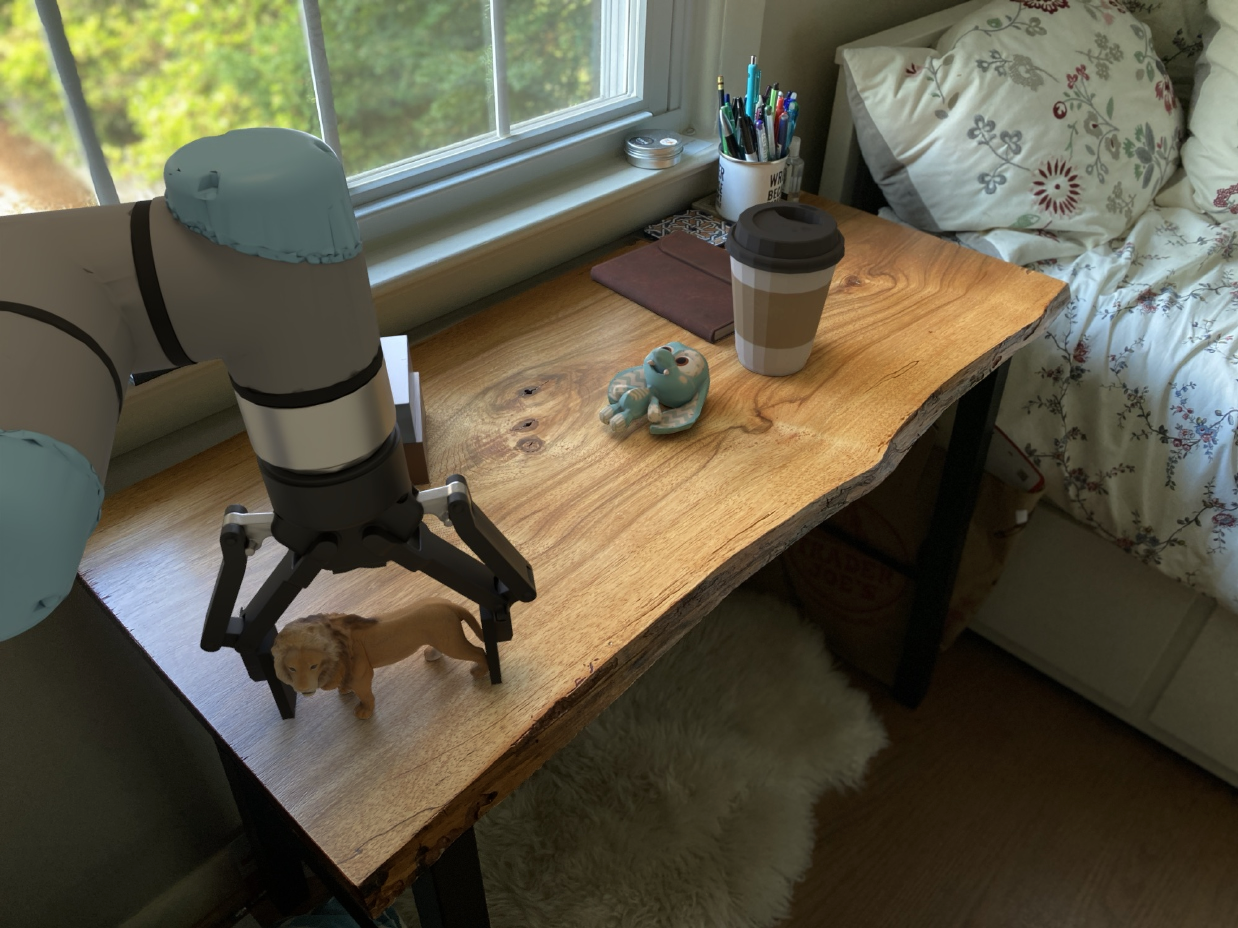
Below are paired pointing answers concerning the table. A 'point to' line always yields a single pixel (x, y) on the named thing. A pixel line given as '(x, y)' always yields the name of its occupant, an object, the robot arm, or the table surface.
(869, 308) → the table surface
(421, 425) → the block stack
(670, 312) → the notebook
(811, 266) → the coffee cup
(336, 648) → the lion figurine
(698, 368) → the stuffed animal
